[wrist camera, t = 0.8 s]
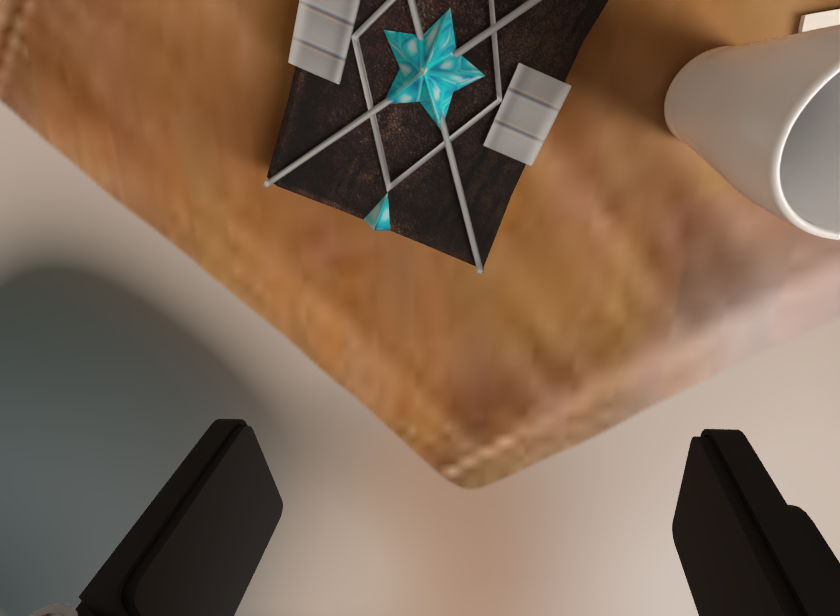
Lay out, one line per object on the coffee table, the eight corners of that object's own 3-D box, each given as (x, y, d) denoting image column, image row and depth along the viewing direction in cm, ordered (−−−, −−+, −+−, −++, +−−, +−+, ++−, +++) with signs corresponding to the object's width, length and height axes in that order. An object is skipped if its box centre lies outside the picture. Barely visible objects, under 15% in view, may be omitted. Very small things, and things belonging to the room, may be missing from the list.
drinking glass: (796, 32, 25) (1104, 17, 12) (749, 158, 28) (950, 252, 16) (666, 29, 26) (824, 13, 13) (635, 153, 29) (737, 236, 16)
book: (360, -225, 23) (327, -286, 19) (659, -86, 24) (692, -114, 20) (280, 174, 34) (249, 192, 30) (485, 259, 35) (482, 289, 31)
